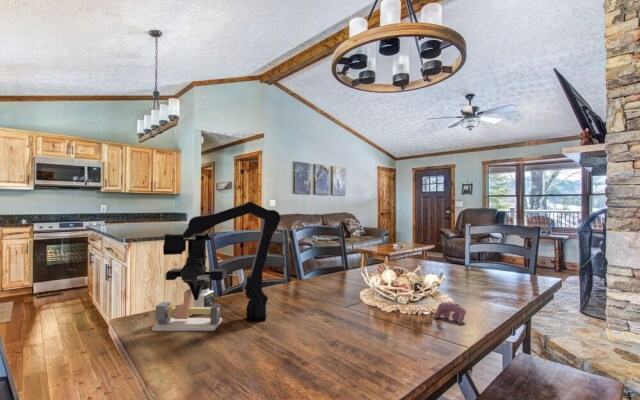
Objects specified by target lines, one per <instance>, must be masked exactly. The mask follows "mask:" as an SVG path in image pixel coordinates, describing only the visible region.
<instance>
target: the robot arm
mask: <svg viewBox="0 0 640 400" xmlns="http://www.w3.org/2000/svg"><path fill="white" fill-rule="evenodd" d="M248 214H251V215H253V216H255V217H256V218H258V219H260V235H259V239H258V242H257V246H256V249H255V254H254V258H253V261H252V265H251V269H250V272H248V274H244V275H243V281H242V283H241V286H242V291H243V293H244V294H245V296H246V298H247V299H249V300H248V302H247V305H246V309H245V310H246V311H245V312H246V314H245V315H246V321H247V322H265V321H267V317H268V315H269V313H268V299H269V297H268V296H267V295H266V293H265V292H264V290H263V272H264V268H265V264H266V261H267V257H268V253H269V249H270V246H271V241H272V238H273V235H274V233H275V231H276V230H277V228H278V226H279V224H280V223H281V218H282V217H281V215H280V212H278V211H277V210H276V209H275V210H274V209H267V208H265V207H262V206H260V205H258V204H256V203H255V202H253V201H246V202H245V203H243V204H239V205H237V206H233V207H230V208H227V209H224V210H222V211H218V212H215V213H210V214H203V215H197V216H196V215H195V216H193V217H191V219H190V220H189V221H188V223H187V224H188V225H187V226H188V227H187V228H186V229H185V230H183V233H181V234H179V233H178V234H175V233H173V234H171V233H165V234H164V239H163V241H164V242H163V245H162V246H163V247H162V248H163V249H162V251H163V253H162V254H163V255H164V256H171V255H172V256H174V255H176V256H177V255H183V253H184V252H187V257H186V259H185V260H186V261H185V264H184V265H183V266H182V267H181V268H172V269H170V270H167V272H166V273H165V281H175V280H176V279H178V278H181V281H182V282H183V284H187V285H188V287H189V289H191V291H192V294H193V297H194V299H195V300H198V298H199V296H200V293H201V291H202V288H203V286H204V284H205V282H206V281H208V280H209V281H210V280H212V281H223V280H224V279H225V278H227V269H225V268H214V269H212V270H211V271H208V267H207V264H206V263H207V259H208V255H207V241H213V238H212V236H210V235H209V234H208V232H206V231H208V230H210V229H211V228H213V227H215V226H217V225H219V224H222V223H225V222H227V221H231V220H234V219H236V218H239V217H242V216H246V215H248ZM204 232H206V233H204ZM203 233H204V234H203ZM194 235H195V236H194ZM192 236H194V237H192ZM186 250H187V251H186ZM198 279H199V280H198Z"/></svg>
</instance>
